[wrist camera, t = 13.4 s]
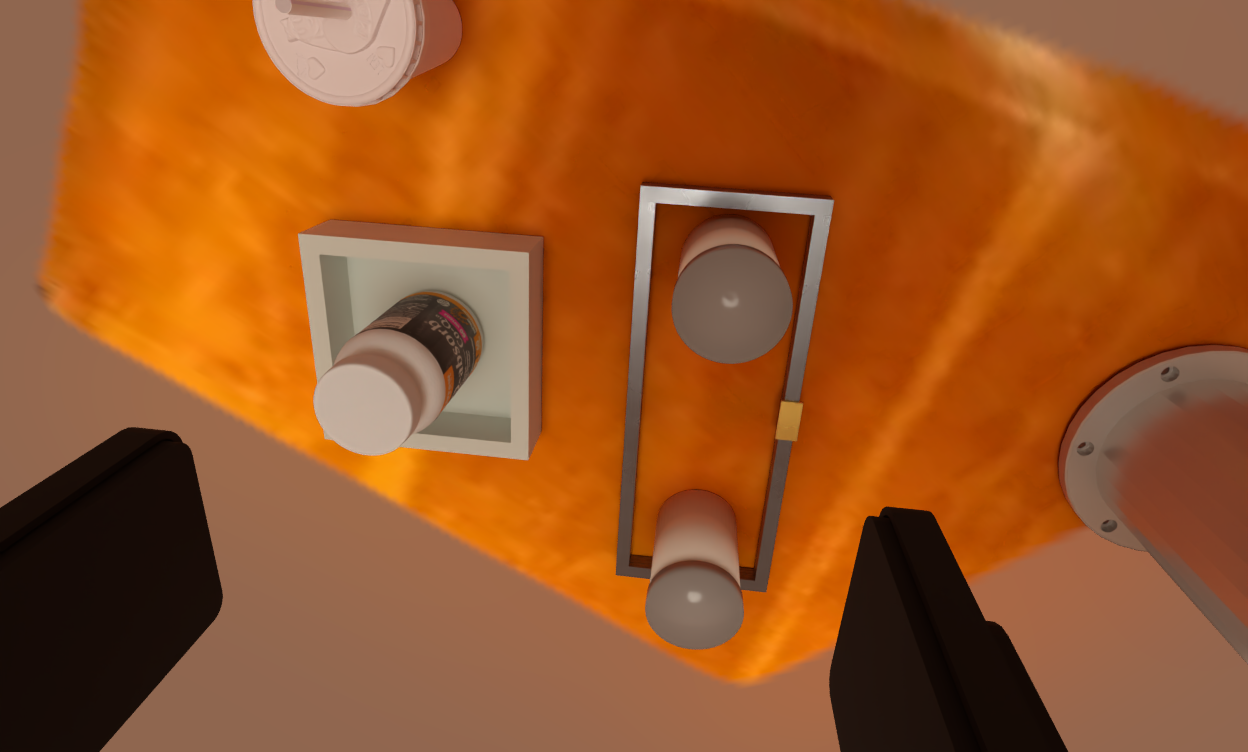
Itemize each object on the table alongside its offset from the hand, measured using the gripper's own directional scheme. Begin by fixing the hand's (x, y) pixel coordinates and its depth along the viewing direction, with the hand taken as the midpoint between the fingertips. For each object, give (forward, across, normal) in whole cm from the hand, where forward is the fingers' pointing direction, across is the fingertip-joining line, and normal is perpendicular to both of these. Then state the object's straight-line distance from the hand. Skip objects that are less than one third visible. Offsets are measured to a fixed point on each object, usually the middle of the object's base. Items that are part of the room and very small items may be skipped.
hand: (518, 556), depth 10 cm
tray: (+30, +12, +9) cm, 34 cm away
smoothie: (+31, +12, -7) cm, 34 cm away
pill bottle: (+30, +12, +9) cm, 33 cm away
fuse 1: (+30, -4, +4) cm, 31 cm away
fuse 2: (+30, -4, +20) cm, 37 cm away
